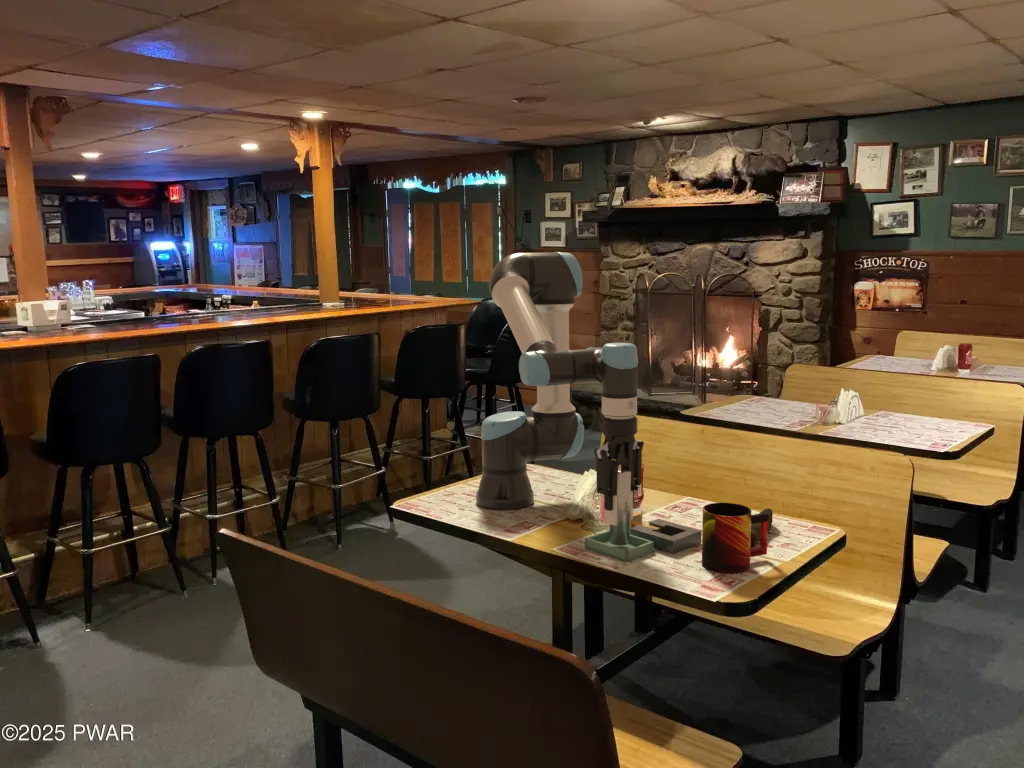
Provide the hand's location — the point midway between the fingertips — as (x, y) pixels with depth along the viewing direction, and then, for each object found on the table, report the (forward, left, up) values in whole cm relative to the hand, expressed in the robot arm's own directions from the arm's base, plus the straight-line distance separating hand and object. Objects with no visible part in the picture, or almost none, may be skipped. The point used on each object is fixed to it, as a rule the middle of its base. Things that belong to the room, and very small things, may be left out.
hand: (619, 521), depth 181 cm
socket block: (+4, +11, -6) cm, 13 cm away
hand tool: (+15, +30, -7) cm, 34 cm away
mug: (+21, +11, -7) cm, 25 cm away
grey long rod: (0, 0, -5) cm, 5 cm away
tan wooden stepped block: (-2, +11, -6) cm, 13 cm away
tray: (0, 0, -6) cm, 6 cm away
